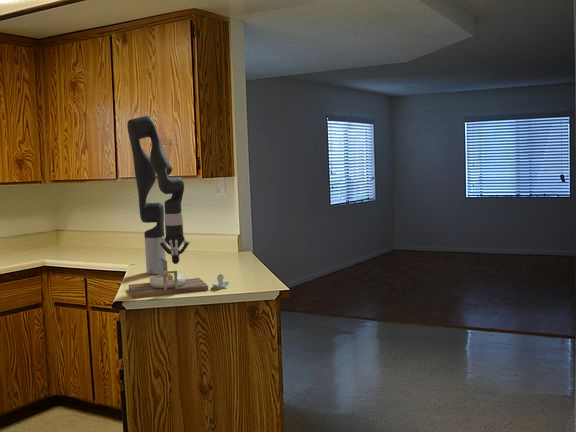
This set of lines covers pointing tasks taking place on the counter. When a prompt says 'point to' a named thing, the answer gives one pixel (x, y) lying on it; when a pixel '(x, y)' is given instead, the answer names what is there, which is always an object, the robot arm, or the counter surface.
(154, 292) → the stand
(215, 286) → the pacifier
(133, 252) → the counter surface
